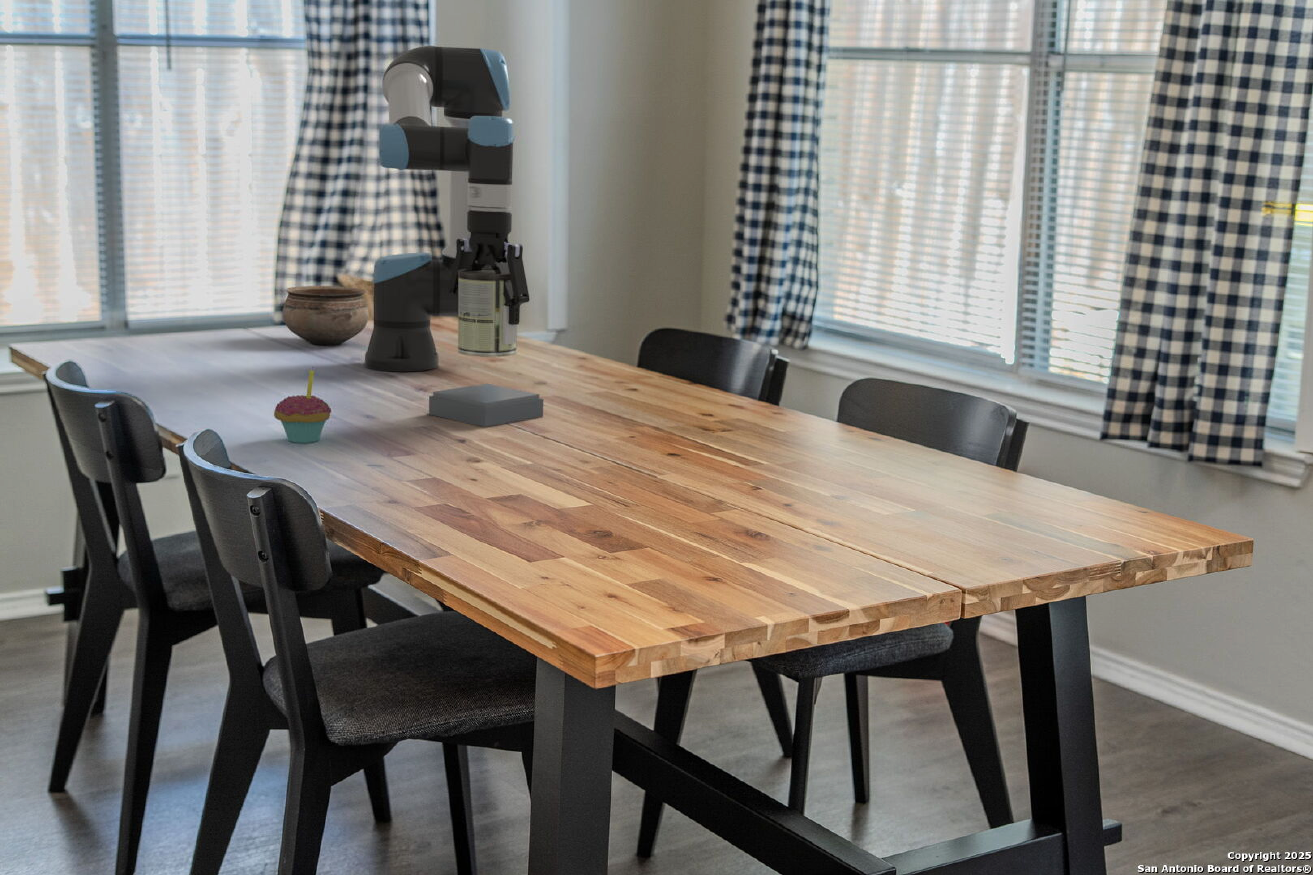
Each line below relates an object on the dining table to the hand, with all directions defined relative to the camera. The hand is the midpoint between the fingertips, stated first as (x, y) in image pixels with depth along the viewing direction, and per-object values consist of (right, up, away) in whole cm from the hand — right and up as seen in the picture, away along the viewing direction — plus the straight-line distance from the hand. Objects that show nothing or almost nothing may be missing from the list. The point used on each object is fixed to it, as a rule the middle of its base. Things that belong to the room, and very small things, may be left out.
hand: (487, 339), depth 236 cm
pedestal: (-1, -13, +3) cm, 13 cm away
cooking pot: (-46, +4, +74) cm, 87 cm away
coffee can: (0, -2, 0) cm, 2 cm away
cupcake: (-26, -18, -22) cm, 38 cm away
